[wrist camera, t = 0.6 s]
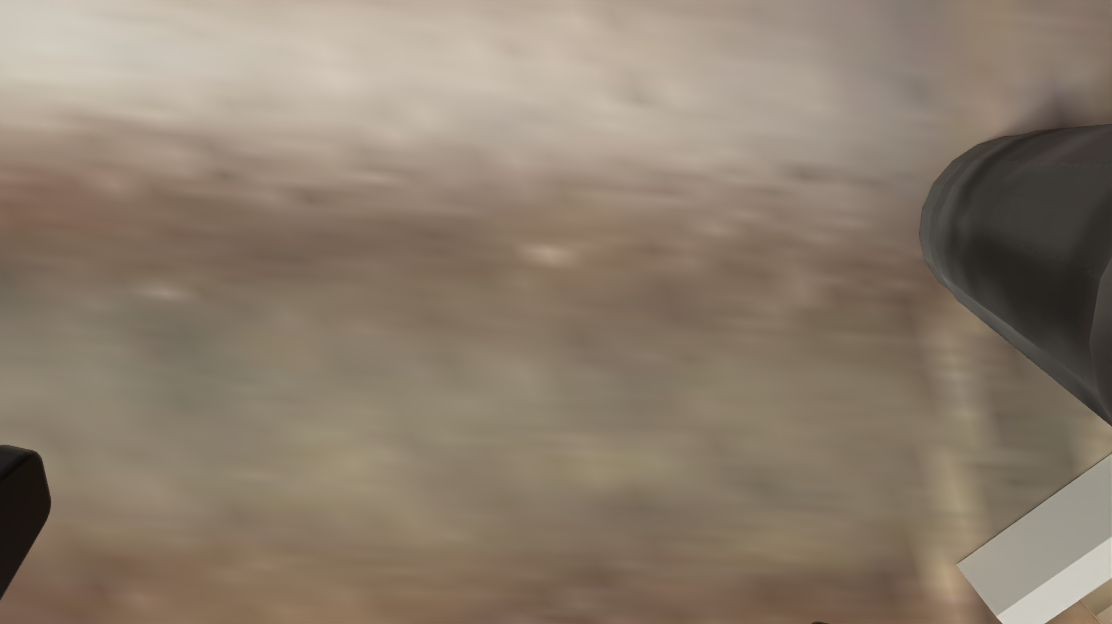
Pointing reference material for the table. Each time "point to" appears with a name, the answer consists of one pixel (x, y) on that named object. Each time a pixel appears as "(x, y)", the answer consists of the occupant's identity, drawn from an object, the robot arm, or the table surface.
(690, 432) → the table surface
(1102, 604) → the coaster
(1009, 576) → the divider wall
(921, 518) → the table surface
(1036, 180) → the beverage cup
